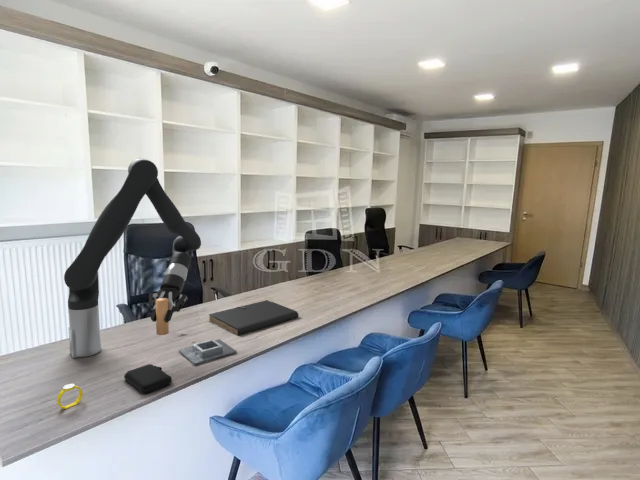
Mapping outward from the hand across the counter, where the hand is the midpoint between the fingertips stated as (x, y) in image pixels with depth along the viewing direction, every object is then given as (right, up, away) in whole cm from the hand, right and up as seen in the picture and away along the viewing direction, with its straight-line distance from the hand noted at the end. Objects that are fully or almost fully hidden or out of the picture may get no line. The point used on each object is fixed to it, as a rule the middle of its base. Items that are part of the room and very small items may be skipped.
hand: (159, 320), depth 131 cm
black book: (+25, -10, +45) cm, 52 cm away
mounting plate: (+14, -14, +9) cm, 21 cm away
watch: (-13, -18, -26) cm, 35 cm away
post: (0, -5, +3) cm, 5 cm away
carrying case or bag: (+2, -17, -12) cm, 21 cm away
